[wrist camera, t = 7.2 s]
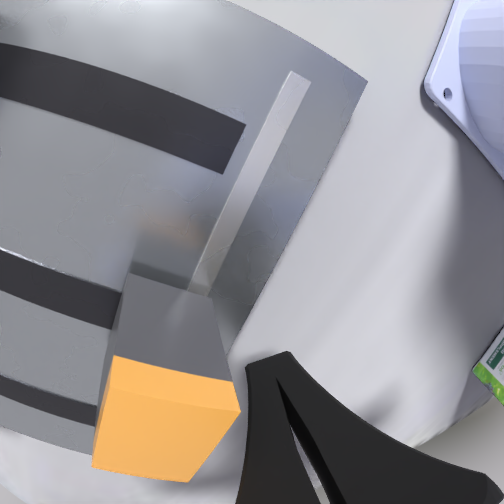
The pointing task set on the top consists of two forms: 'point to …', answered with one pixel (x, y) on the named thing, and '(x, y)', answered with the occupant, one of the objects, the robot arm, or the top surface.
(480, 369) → the syrup box
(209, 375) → the toggle
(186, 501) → the top surface
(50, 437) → the panel
